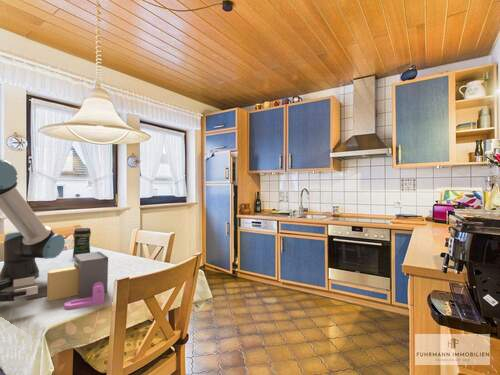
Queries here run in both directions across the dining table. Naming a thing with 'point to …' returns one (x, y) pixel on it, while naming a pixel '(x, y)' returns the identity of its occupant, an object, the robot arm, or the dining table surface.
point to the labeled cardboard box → (62, 283)
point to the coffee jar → (82, 241)
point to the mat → (41, 293)
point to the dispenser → (91, 272)
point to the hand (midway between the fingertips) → (36, 284)
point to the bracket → (95, 299)
